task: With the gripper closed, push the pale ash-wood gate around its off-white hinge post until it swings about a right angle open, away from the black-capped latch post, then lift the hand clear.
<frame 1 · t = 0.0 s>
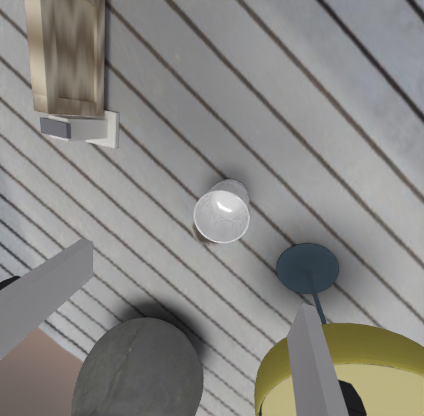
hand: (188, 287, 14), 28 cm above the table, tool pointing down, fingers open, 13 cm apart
cocktail glass: (306, 268, 43), on the table
ceramic pot: (163, 335, 56), on the table
gate: (71, 34, 30), point 7 cm above the table, hinge at 0.0°
white cup: (229, 196, 41), on the table
latch post: (103, 127, 41), on the table
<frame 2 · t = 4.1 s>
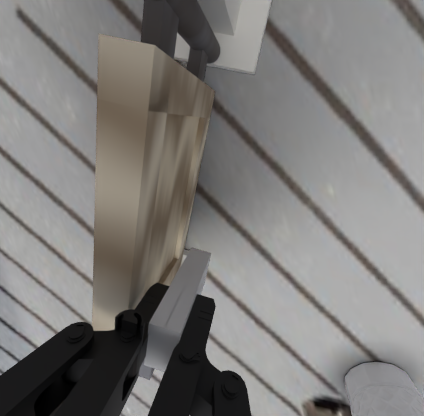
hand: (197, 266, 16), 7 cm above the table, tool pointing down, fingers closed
gate: (164, 186, 15), point 7 cm above the table, hinge at 0.8°, touching gripper
hinge post: (220, 13, 17), on the table
white cup: (375, 380, 26), on the table
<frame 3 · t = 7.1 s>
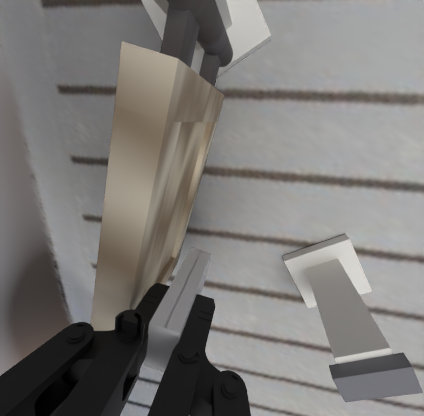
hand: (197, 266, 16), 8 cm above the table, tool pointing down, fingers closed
gate: (168, 188, 15), point 7 cm above the table, hinge at 46.1°, touching gripper
hinge post: (207, 23, 17), on the table
latch post: (324, 269, 23), on the table
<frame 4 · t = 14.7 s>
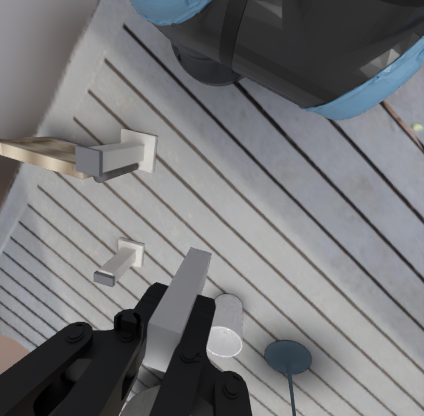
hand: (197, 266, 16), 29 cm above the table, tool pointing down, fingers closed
cocktail glass: (287, 356, 56), on the table
ceramic pot: (175, 393, 69), on the table
gate: (72, 157, 41), point 7 cm above the table, hinge at 92.1°
hinge post: (139, 150, 45), on the table
white cup: (228, 304, 54), on the table
latch post: (132, 251, 54), on the table
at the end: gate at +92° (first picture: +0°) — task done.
